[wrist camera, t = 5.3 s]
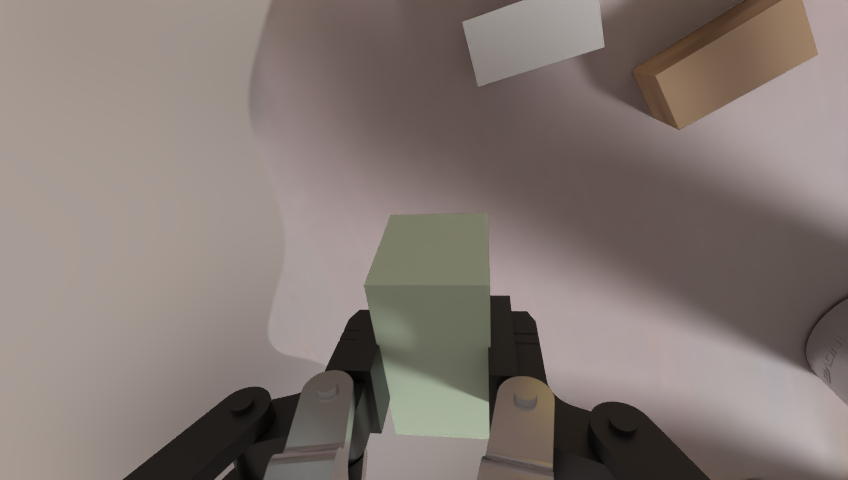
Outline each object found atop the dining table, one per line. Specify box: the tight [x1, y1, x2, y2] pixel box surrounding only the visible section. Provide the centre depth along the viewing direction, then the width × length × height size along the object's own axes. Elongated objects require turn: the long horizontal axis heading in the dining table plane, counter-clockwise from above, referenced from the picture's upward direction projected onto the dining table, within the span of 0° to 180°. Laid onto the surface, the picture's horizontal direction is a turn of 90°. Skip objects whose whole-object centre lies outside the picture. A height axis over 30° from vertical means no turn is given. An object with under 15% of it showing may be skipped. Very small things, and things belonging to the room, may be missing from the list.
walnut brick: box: [632, 0, 818, 130], centre depth 20 cm, size 6×3×4 cm, turn 125°
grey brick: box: [462, 0, 605, 87], centre depth 21 cm, size 6×3×4 cm, turn 108°
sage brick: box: [364, 213, 491, 439], centre depth 13 cm, size 6×3×4 cm, turn 5°
